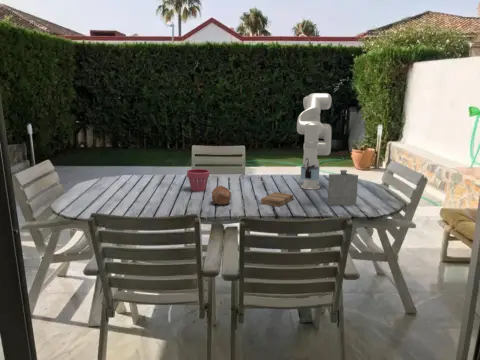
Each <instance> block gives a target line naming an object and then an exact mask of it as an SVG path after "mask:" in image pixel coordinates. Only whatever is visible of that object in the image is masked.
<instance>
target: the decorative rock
mask: <svg viewBox="0 0 480 360" xmlns="http://www.w3.org/2000/svg"><path fill="white" fill-rule="evenodd" d="M231 195H232V192H231V191H230V190H229V189H228V188H227V187H225V186H224V185H218V186H216V187H215V188H214V189H213V190H212V191H211V200H212V203H213V204H215V205H219V206H222V205H228V204H229V203H230V201H231Z"/></svg>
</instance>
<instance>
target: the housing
mask: <svg viewBox="0 0 480 360" xmlns="http://www.w3.org/2000/svg"><path fill="white" fill-rule="evenodd" d="M320 168H321V167H320V166H319V167H315V166H311V178H310V179H309V178H305V167H304V165H302V166H301V167H300V179H301V180H304V179H306V180H314V181H316V180H319V179H320Z"/></svg>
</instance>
